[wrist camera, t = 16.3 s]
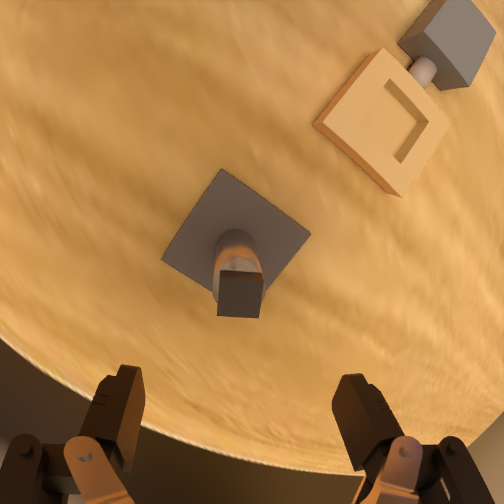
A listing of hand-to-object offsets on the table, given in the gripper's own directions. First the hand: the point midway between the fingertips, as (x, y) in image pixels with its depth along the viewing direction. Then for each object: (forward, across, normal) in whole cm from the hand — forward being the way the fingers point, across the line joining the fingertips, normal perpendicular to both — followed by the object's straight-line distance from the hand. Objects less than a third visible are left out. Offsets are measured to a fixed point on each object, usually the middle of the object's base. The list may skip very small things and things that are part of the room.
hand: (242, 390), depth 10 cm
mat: (+18, 0, 0) cm, 18 cm away
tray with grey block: (+18, -17, -21) cm, 32 cm away
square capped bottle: (+17, 0, 0) cm, 17 cm away
